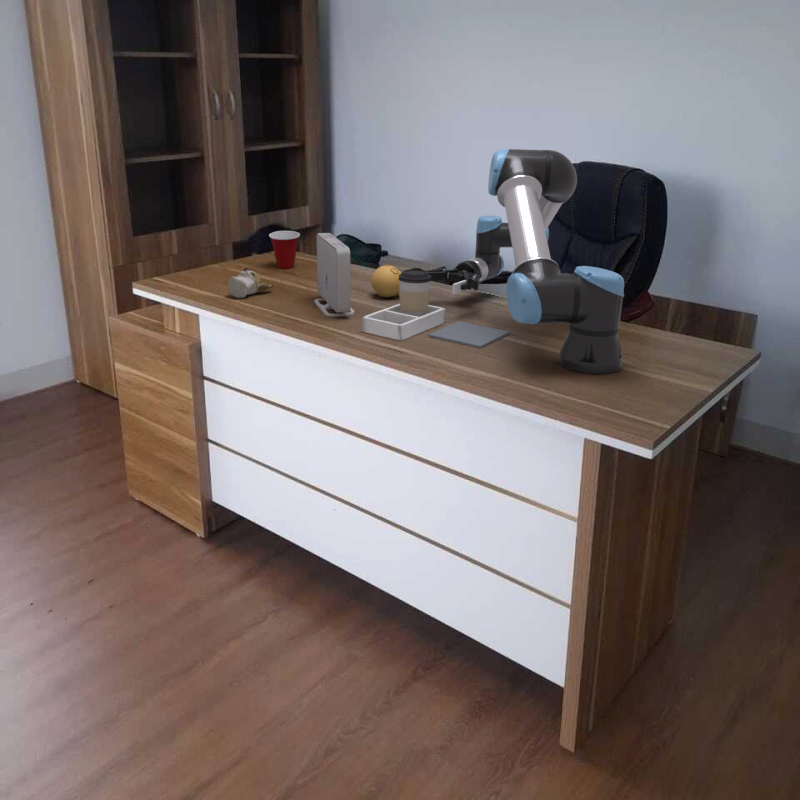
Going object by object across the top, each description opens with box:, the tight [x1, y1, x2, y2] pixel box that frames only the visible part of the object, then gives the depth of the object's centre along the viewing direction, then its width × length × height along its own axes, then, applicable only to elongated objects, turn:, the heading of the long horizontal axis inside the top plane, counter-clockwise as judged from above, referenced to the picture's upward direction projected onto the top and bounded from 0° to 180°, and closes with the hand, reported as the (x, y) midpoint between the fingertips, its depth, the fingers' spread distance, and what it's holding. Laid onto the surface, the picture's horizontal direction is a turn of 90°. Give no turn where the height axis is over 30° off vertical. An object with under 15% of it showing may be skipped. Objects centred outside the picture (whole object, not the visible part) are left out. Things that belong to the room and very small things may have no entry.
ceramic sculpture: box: [227, 267, 274, 299], centre depth 254 cm, size 11×9×15 cm
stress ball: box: [371, 264, 402, 298], centre depth 254 cm, size 10×10×10 cm
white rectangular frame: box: [361, 303, 447, 341], centre depth 225 cm, size 13×22×4 cm, turn 145°
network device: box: [314, 232, 355, 318], centre depth 239 cm, size 26×9×20 cm, turn 18°
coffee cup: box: [398, 267, 432, 317], centre depth 227 cm, size 9×9×15 cm
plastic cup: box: [268, 230, 301, 270], centre depth 289 cm, size 11×11×12 cm
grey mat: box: [427, 320, 511, 349], centre depth 220 cm, size 16×16×1 cm
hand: (433, 285), depth 234 cm, fingers open, 13 cm apart
